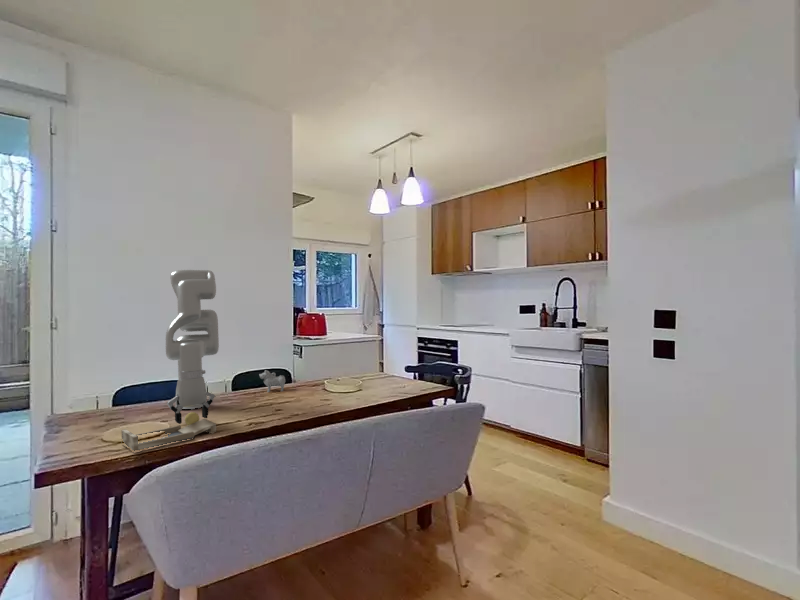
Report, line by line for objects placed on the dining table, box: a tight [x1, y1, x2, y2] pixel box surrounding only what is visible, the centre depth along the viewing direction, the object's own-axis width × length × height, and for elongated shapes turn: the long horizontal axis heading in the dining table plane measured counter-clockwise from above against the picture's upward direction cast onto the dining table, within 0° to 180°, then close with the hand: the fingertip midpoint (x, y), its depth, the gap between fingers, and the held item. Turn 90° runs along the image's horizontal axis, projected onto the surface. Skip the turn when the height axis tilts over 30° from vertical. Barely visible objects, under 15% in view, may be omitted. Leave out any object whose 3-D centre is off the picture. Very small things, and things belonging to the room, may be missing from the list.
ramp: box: [177, 418, 217, 436], centre depth 166 cm, size 10×9×3 cm
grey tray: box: [121, 424, 195, 451], centre depth 156 cm, size 12×19×5 cm, turn 137°
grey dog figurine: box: [258, 370, 286, 393], centre depth 236 cm, size 5×13×11 cm, turn 100°
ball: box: [184, 411, 200, 426], centre depth 175 cm, size 5×5×5 cm
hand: (192, 420), depth 175 cm, fingers open, 9 cm apart
